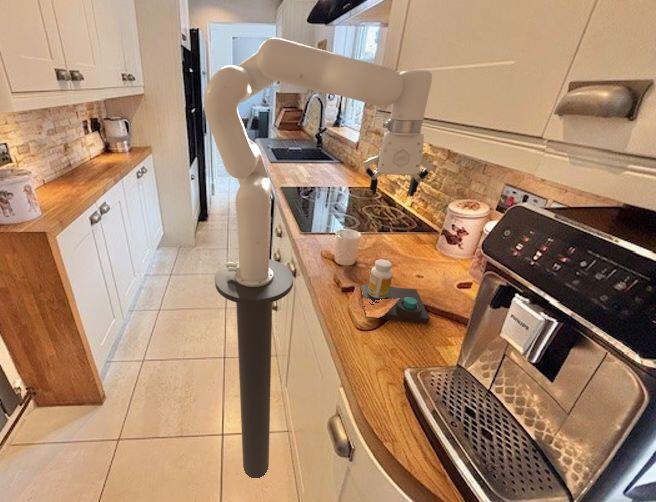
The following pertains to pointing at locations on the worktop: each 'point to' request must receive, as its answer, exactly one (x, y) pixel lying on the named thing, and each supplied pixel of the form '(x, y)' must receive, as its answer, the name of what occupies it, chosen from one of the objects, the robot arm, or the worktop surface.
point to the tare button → (410, 303)
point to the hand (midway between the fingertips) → (391, 194)
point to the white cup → (346, 246)
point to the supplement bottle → (380, 279)
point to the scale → (401, 305)
